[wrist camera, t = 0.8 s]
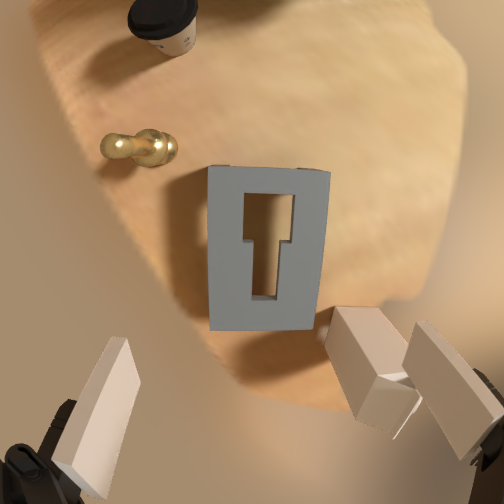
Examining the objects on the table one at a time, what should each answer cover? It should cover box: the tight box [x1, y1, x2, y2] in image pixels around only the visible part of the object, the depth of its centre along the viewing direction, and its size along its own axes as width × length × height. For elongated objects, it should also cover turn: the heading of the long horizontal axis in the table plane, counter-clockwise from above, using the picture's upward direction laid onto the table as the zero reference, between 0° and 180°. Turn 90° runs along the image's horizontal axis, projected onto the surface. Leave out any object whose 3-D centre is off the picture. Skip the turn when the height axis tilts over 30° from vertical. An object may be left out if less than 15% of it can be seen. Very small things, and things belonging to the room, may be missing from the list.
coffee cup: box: [128, 0, 198, 56], centre depth 22 cm, size 7×7×10 cm
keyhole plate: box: [207, 165, 331, 331], centre depth 33 cm, size 18×12×6 cm, turn 178°
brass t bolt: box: [100, 129, 178, 167], centre depth 24 cm, size 4×4×15 cm
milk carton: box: [324, 307, 423, 440], centre depth 32 cm, size 7×7×19 cm
